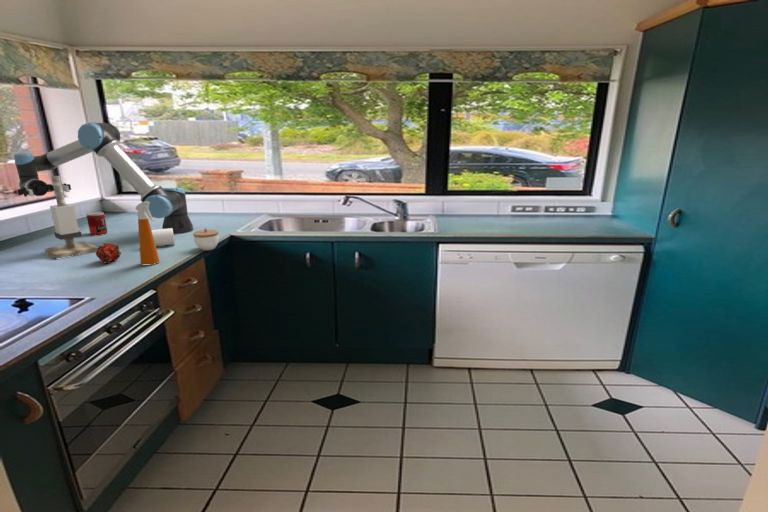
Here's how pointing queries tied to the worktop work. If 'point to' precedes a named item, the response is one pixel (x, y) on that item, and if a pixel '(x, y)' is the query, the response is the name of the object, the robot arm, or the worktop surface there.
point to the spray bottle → (146, 235)
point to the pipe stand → (70, 246)
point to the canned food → (97, 223)
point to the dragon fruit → (108, 252)
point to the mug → (163, 237)
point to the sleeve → (64, 219)
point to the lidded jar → (206, 239)
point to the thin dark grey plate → (68, 235)
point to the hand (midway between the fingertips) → (50, 191)
